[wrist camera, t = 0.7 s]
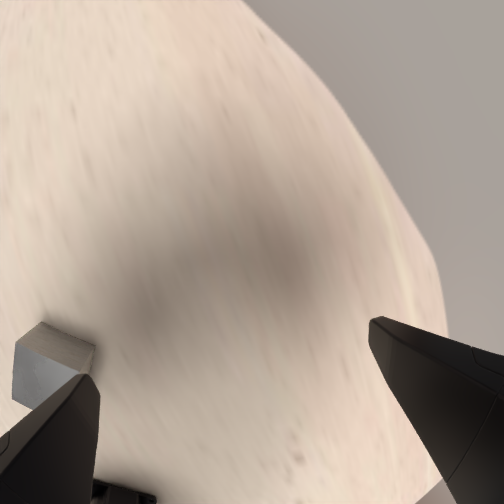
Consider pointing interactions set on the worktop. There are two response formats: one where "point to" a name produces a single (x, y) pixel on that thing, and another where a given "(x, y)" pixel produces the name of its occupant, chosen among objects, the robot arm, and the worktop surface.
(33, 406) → the cube
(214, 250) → the worktop surface
